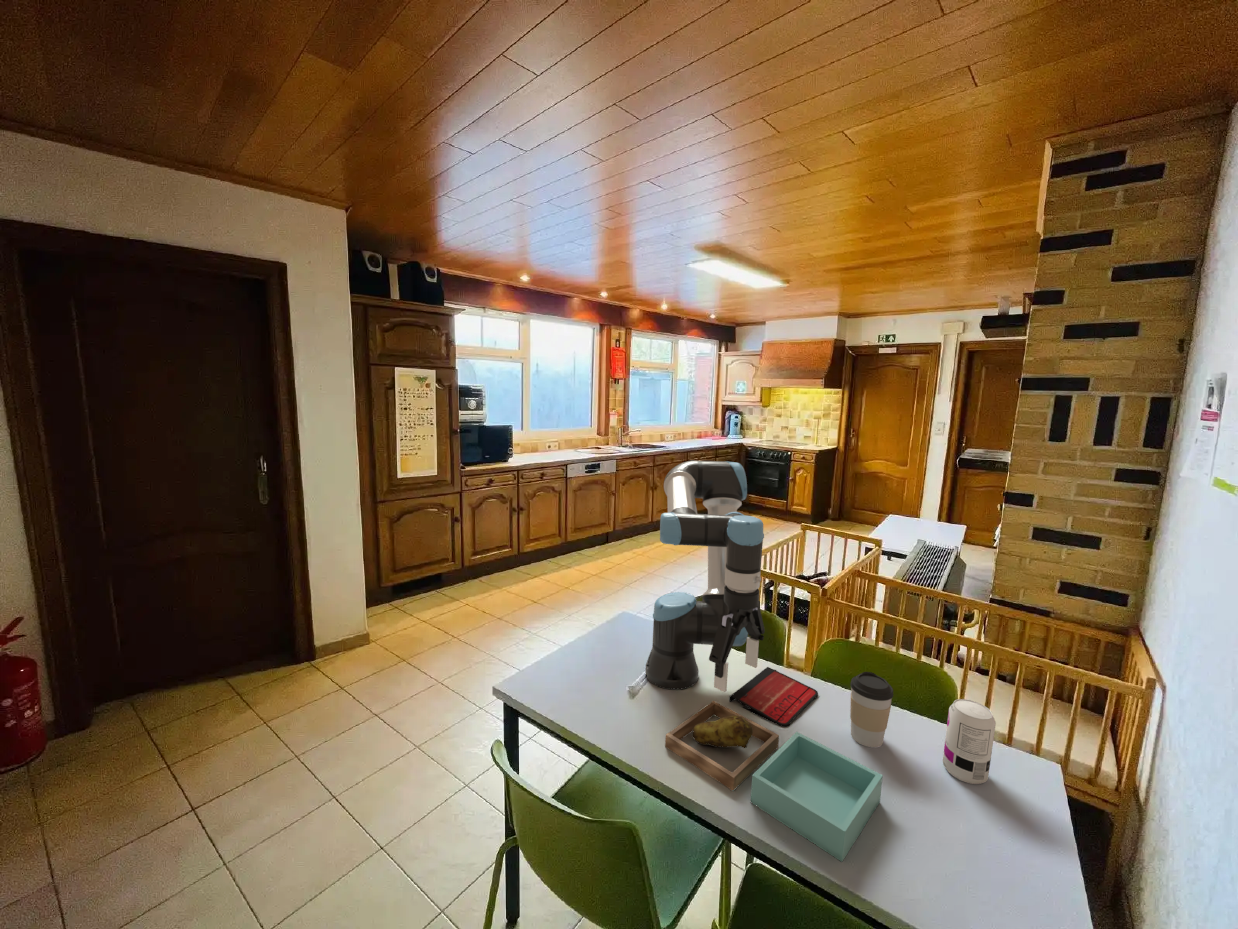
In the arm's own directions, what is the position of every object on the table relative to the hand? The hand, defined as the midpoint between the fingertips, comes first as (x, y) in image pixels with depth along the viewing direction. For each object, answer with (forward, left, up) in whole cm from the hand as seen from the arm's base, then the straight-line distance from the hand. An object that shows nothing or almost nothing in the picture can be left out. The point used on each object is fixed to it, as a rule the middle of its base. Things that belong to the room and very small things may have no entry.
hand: (736, 676), depth 115 cm
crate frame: (-1, -2, -17) cm, 17 cm away
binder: (-2, +25, -18) cm, 31 cm away
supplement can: (+40, +30, -17) cm, 53 cm away
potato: (-1, -2, -17) cm, 18 cm away
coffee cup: (+21, +26, -17) cm, 37 cm away
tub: (+21, -2, -17) cm, 27 cm away
